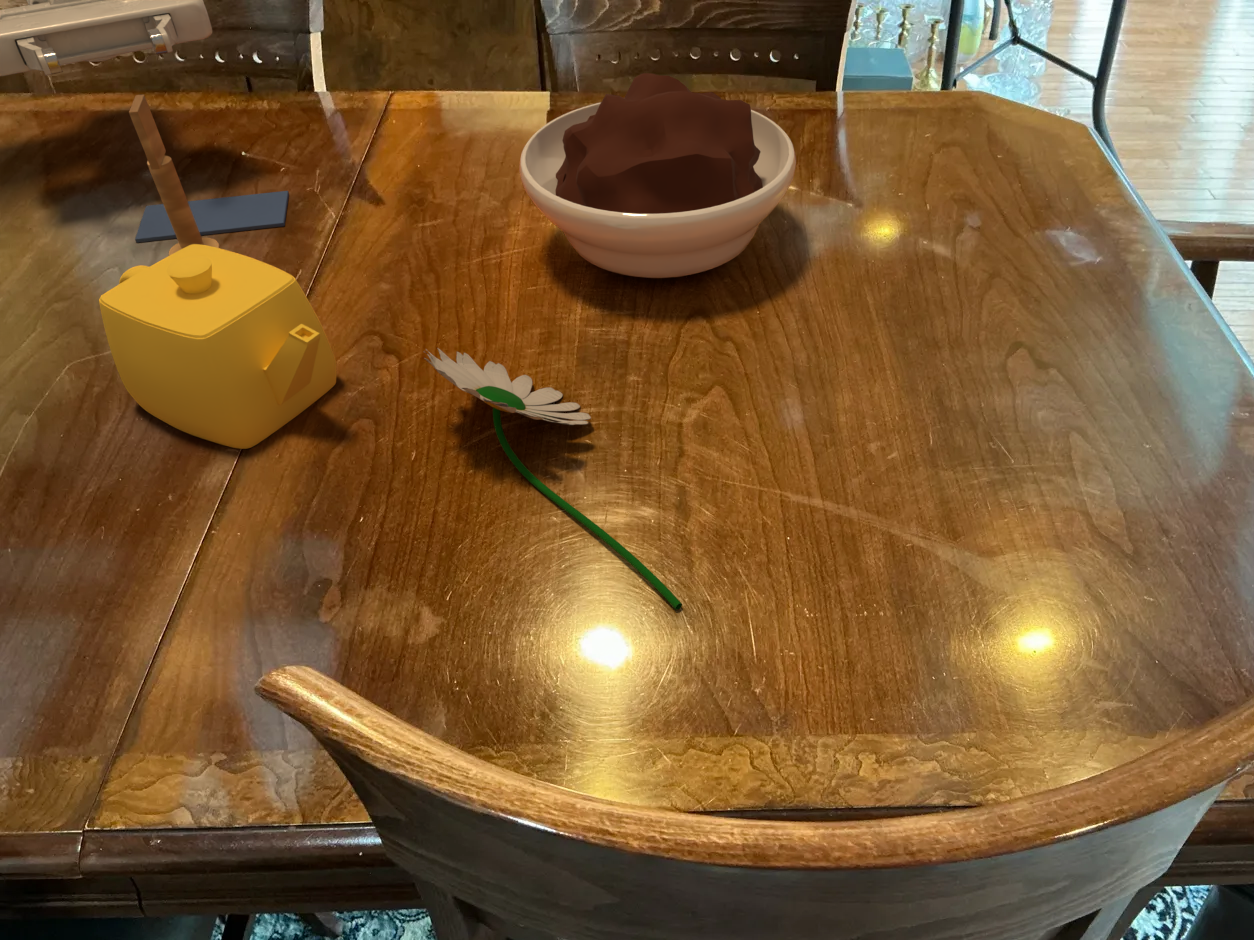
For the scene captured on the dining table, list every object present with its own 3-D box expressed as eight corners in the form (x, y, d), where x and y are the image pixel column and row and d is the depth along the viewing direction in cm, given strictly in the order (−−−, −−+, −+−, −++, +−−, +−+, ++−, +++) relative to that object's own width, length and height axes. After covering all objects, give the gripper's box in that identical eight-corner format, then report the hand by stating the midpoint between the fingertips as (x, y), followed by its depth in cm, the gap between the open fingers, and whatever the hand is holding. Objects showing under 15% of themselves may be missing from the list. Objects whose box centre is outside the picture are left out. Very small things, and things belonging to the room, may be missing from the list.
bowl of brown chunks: (542, 332, 93) (518, 165, 83) (523, 198, 111) (501, 46, 100) (821, 299, 97) (832, 135, 86) (760, 174, 114) (763, 25, 103)
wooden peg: (175, 288, 99) (103, 116, 88) (181, 263, 102) (113, 95, 91) (225, 282, 100) (160, 111, 88) (229, 258, 103) (167, 90, 91)
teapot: (394, 391, 87) (358, 261, 79) (282, 480, 80) (230, 346, 71) (218, 326, 94) (169, 201, 86) (100, 402, 87) (33, 272, 78)
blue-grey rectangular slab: (136, 242, 105) (134, 239, 105) (147, 209, 110) (145, 205, 110) (284, 226, 107) (283, 222, 107) (289, 194, 112) (288, 190, 112)
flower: (630, 577, 64) (399, 311, 78) (591, 644, 66) (373, 373, 81) (764, 569, 74) (537, 335, 89) (726, 628, 76) (510, 390, 91)
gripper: (-53, -7, 99) (-39, 40, 91) (178, -43, 107) (211, -3, 98) (-20, 63, 104) (-4, 114, 95) (200, 24, 111) (232, 68, 103)
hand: (107, 54), depth 97 cm, fingers open, 8 cm apart
